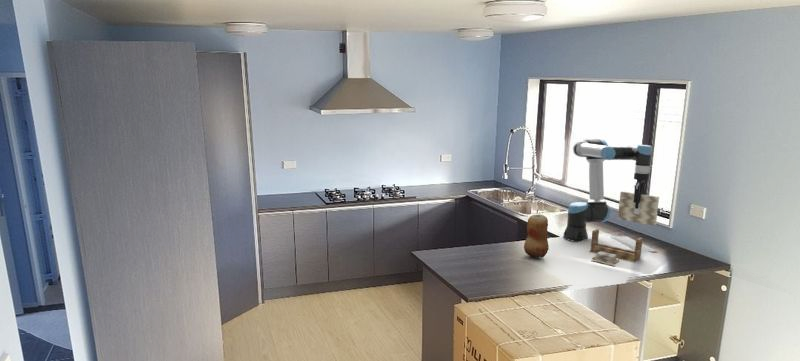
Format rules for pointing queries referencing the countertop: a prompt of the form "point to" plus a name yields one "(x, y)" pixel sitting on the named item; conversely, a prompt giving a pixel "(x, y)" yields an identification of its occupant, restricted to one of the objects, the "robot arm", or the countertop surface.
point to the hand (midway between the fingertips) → (637, 213)
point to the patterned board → (646, 208)
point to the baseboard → (632, 243)
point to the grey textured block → (605, 261)
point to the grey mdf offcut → (606, 256)
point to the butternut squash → (537, 236)
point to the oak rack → (616, 249)
